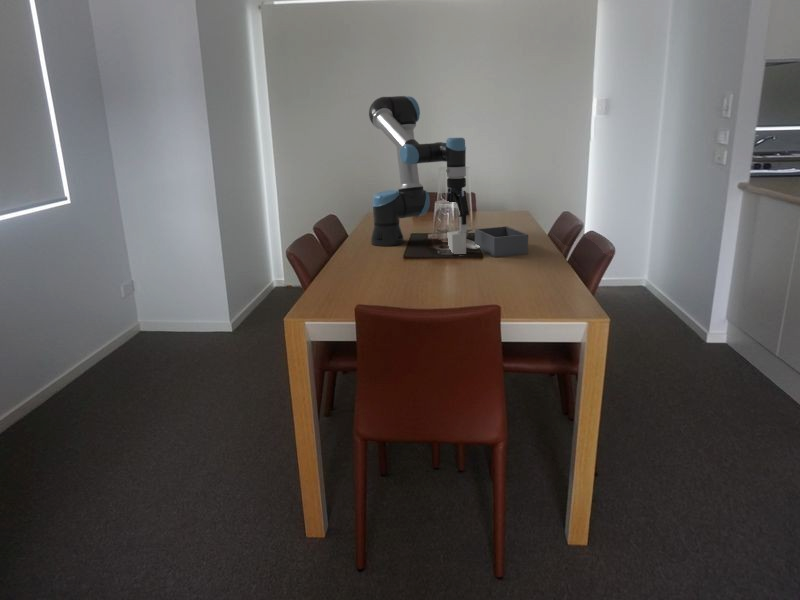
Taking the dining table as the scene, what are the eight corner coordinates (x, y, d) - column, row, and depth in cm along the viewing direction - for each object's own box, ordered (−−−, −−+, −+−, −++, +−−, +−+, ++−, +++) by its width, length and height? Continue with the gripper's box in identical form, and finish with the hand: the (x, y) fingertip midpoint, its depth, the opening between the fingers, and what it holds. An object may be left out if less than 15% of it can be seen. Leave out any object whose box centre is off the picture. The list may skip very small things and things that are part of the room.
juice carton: (447, 253, 252) (447, 229, 249) (460, 251, 254) (460, 228, 251) (452, 256, 247) (452, 232, 244) (466, 254, 248) (466, 231, 245)
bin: (474, 247, 260) (474, 229, 258) (506, 244, 264) (506, 226, 262) (494, 257, 242) (494, 237, 240) (527, 253, 246) (528, 234, 243)
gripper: (437, 175, 251) (438, 225, 257) (458, 180, 228) (459, 235, 234) (454, 174, 253) (454, 224, 259) (477, 179, 230) (477, 233, 236)
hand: (457, 229), depth 247 cm, fingers open, 13 cm apart
